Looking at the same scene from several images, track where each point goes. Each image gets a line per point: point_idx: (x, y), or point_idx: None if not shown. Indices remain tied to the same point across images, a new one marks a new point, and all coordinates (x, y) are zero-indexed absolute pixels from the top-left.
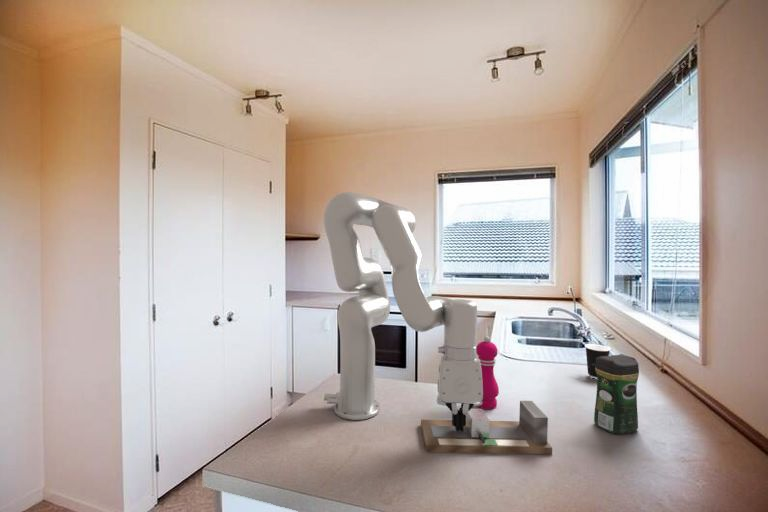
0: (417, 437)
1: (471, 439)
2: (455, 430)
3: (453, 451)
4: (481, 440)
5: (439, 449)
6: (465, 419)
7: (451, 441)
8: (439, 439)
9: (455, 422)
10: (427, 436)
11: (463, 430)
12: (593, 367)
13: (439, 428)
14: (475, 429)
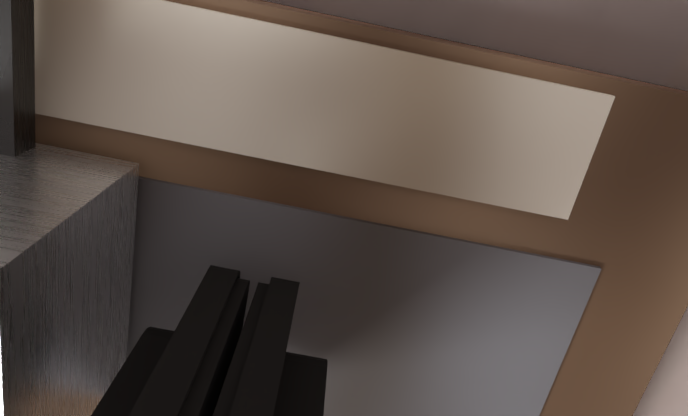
0: (666, 360)
1: (153, 133)
2: None
3: (429, 37)
4: (23, 14)
5: (596, 73)
6: (117, 386)
7: (430, 130)
8: (559, 200)
9: (291, 381)
10: (657, 292)
11: None
12: None
13: (444, 410)
14: (30, 190)
